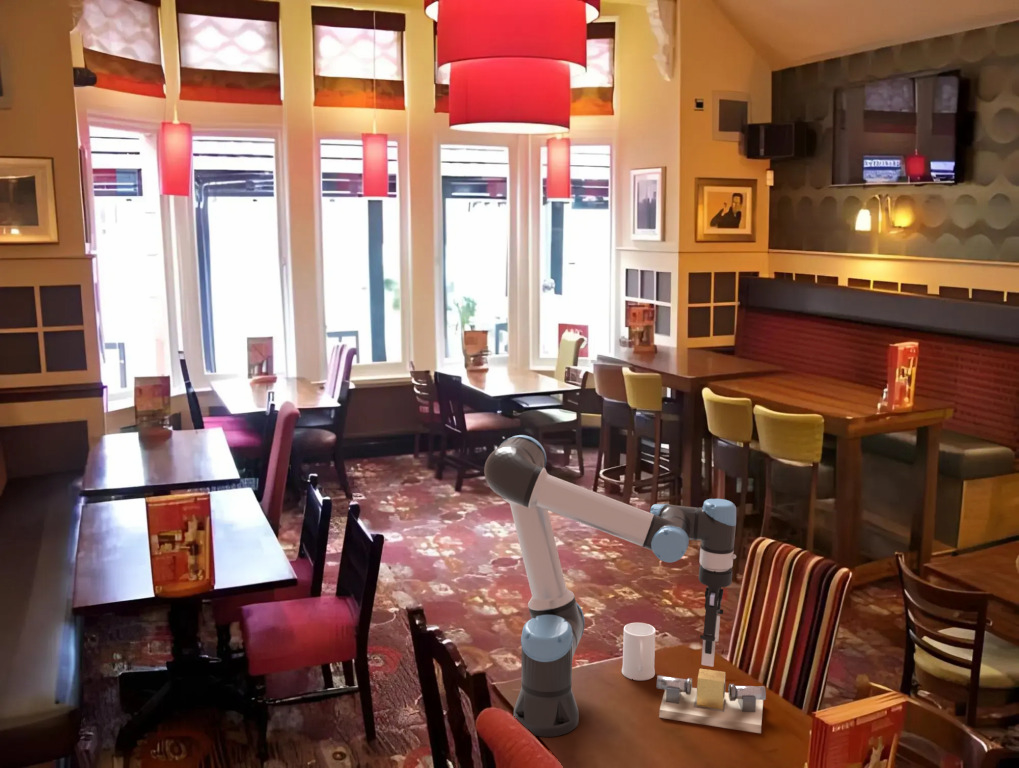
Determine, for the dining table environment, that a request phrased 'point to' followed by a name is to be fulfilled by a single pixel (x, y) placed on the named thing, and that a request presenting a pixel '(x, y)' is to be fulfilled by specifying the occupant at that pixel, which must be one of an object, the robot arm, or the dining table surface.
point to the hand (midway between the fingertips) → (710, 652)
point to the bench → (713, 713)
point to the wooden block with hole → (711, 689)
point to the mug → (638, 651)
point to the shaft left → (674, 687)
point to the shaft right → (746, 696)
